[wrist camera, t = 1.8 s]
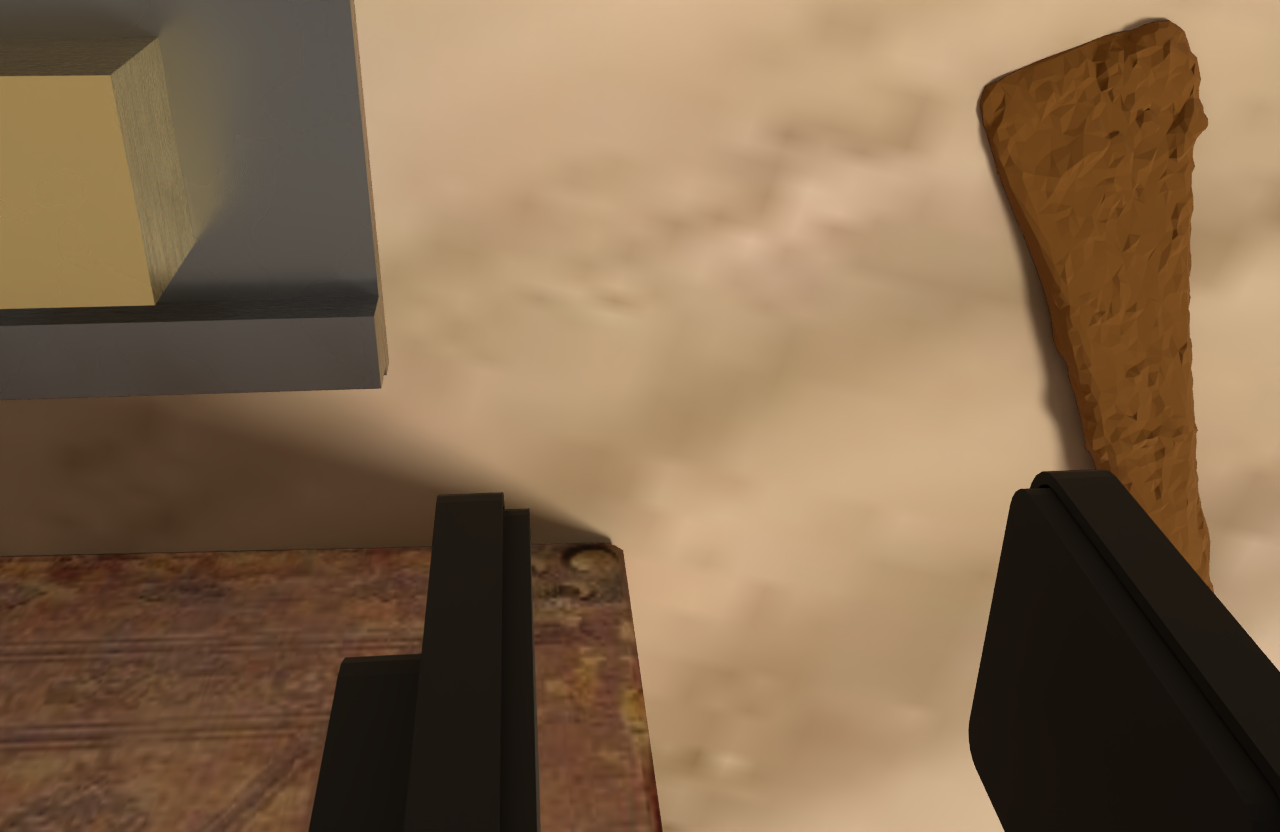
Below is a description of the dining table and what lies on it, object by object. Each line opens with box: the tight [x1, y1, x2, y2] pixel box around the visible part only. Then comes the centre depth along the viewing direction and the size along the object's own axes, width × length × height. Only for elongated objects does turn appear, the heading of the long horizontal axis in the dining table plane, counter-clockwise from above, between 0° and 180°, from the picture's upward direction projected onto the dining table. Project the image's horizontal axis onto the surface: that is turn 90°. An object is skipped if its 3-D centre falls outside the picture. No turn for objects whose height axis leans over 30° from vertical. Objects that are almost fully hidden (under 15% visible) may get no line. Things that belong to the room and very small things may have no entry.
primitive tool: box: [980, 20, 1214, 593], centre depth 33 cm, size 19×6×4 cm, turn 20°
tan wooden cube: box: [0, 37, 194, 309], centre depth 22 cm, size 4×4×3 cm
